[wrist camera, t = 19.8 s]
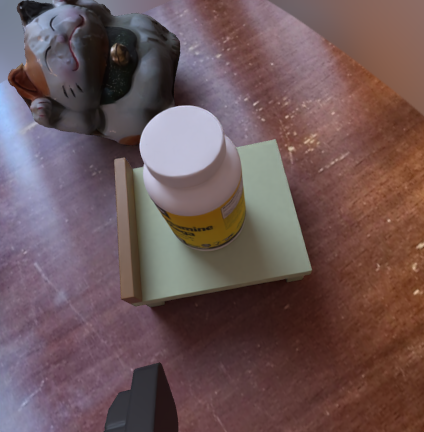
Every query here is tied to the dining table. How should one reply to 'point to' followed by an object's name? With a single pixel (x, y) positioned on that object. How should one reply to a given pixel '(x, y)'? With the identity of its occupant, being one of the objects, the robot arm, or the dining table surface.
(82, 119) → the lucky cat figurine
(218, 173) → the pill bottle
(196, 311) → the dining table surface
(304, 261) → the shoe shelf
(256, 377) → the dining table surface
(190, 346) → the dining table surface
